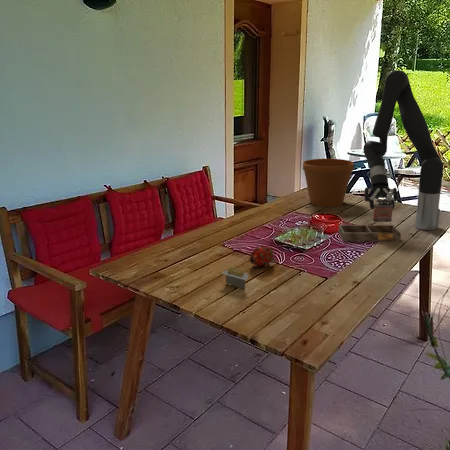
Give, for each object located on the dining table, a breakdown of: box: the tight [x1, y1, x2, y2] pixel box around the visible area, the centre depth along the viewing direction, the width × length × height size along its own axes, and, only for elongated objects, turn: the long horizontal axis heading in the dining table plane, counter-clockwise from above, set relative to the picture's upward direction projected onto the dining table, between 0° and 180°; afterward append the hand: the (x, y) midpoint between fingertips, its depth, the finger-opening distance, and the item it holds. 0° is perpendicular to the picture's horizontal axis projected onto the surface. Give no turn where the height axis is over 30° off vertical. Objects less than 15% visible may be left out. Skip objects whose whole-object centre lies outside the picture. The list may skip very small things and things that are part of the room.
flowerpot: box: [302, 158, 354, 208], centre depth 260 cm, size 28×28×24 cm
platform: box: [222, 266, 249, 290], centre depth 156 cm, size 12×18×6 cm, turn 53°
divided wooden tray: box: [338, 224, 401, 242], centre depth 202 cm, size 24×12×4 cm, turn 85°
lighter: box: [372, 198, 394, 223], centre depth 199 cm, size 8×3×10 cm, turn 85°
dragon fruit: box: [249, 245, 275, 269], centre depth 172 cm, size 8×8×12 cm
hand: (382, 208), depth 200 cm, fingers closed on lighter, 8 cm apart
